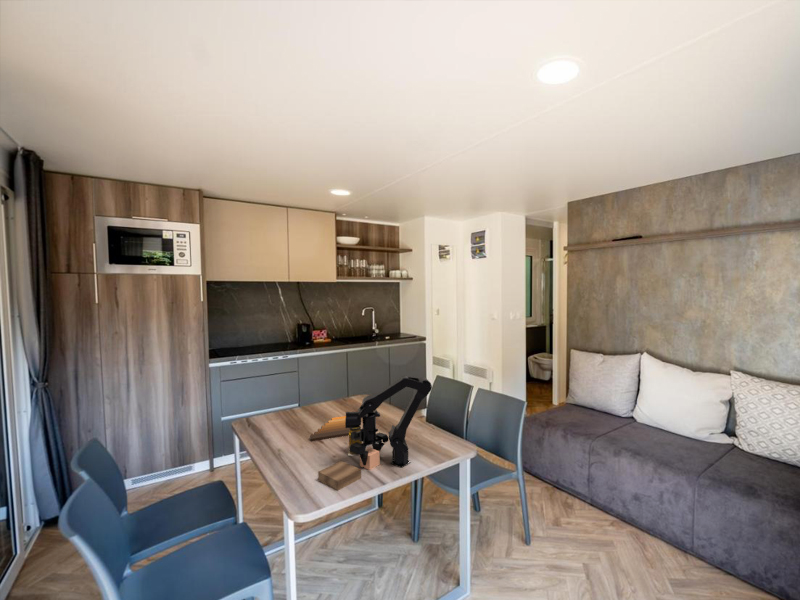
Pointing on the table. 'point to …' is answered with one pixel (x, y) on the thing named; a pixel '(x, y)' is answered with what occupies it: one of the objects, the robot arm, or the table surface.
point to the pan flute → (331, 429)
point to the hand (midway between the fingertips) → (369, 462)
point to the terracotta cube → (371, 459)
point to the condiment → (353, 440)
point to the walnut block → (339, 475)
